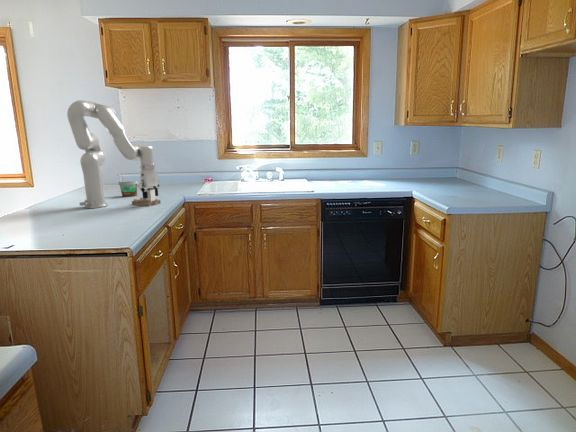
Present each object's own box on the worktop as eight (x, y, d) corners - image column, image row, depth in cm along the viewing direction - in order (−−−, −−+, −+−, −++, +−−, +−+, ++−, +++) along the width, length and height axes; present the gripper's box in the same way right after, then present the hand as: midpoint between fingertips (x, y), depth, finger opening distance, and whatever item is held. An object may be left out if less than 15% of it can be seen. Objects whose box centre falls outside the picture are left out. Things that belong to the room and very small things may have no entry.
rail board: (149, 206, 243) (149, 201, 243) (132, 204, 249) (131, 199, 249) (160, 203, 251) (160, 198, 250) (143, 201, 257) (143, 197, 257)
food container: (118, 197, 272) (117, 182, 270) (119, 196, 278) (118, 181, 276) (138, 196, 275) (137, 181, 273) (139, 195, 281) (137, 180, 279)
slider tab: (151, 201, 245) (150, 189, 244) (146, 200, 247) (145, 188, 246) (155, 200, 249) (154, 188, 247) (150, 199, 250) (149, 187, 249)
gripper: (141, 169, 234) (144, 200, 238) (163, 166, 249) (165, 195, 253) (131, 168, 238) (134, 199, 242) (154, 165, 253) (156, 194, 257)
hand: (150, 196), depth 247 cm, fingers open, 7 cm apart
